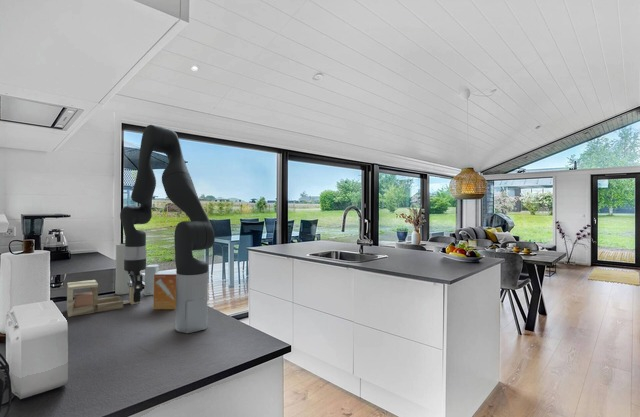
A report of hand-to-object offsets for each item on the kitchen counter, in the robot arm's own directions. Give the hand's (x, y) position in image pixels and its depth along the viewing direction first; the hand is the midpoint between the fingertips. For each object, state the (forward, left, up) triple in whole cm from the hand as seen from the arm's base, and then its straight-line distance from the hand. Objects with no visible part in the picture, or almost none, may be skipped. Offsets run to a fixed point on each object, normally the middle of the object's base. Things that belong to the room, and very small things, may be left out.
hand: (134, 299), depth 125 cm
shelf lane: (0, +12, -1) cm, 12 cm away
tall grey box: (+18, 0, -1) cm, 18 cm away
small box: (-13, -9, -2) cm, 16 cm away
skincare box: (+11, -9, -2) cm, 14 cm away
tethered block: (0, +8, -1) cm, 9 cm away
